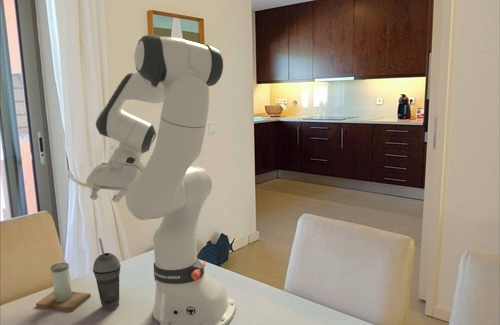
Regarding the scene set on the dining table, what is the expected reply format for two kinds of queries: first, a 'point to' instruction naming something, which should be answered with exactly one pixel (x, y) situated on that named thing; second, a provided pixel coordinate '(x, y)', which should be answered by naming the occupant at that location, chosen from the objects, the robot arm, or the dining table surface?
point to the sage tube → (61, 282)
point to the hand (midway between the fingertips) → (103, 200)
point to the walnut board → (68, 305)
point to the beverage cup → (107, 279)
